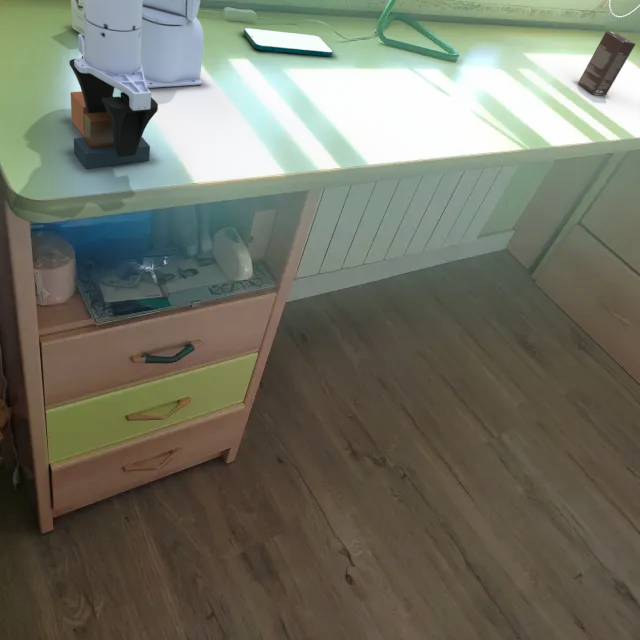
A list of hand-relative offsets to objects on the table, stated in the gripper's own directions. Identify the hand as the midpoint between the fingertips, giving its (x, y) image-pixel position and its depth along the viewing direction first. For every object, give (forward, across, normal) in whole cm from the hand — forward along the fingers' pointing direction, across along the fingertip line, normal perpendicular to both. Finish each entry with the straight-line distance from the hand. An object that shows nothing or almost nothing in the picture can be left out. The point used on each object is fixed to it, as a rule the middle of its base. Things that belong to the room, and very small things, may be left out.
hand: (112, 137), depth 73 cm
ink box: (+3, -36, +14) cm, 39 cm away
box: (+3, -2, +116) cm, 116 cm away
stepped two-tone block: (+3, 0, 0) cm, 3 cm away
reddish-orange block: (+3, -7, 0) cm, 7 cm away
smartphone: (+2, -29, +47) cm, 55 cm away
